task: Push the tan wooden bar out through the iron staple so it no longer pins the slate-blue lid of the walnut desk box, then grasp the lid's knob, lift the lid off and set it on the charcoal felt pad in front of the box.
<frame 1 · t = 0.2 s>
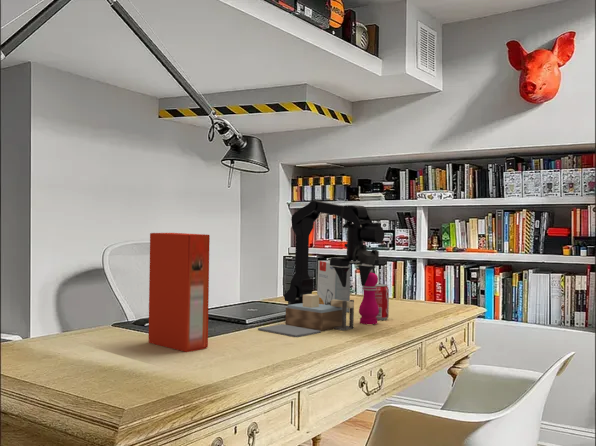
hand: (353, 286, 216), 14 cm above the table, tool pointing down, fingers open, 9 cm apart
file binder: (177, 346, 177), on the table
felt pad: (289, 331, 204), on the table
toolbox: (314, 326, 215), on the table
soda can: (378, 319, 234), on the table
hard drive box: (332, 310, 255), on the table
tan wooden bar: (342, 303, 212), point 8 cm above the table, slide at 0.0 cm
lid: (314, 308, 215), point 6 cm above the table, touching toolbox
pepper mill: (368, 323, 224), on the table
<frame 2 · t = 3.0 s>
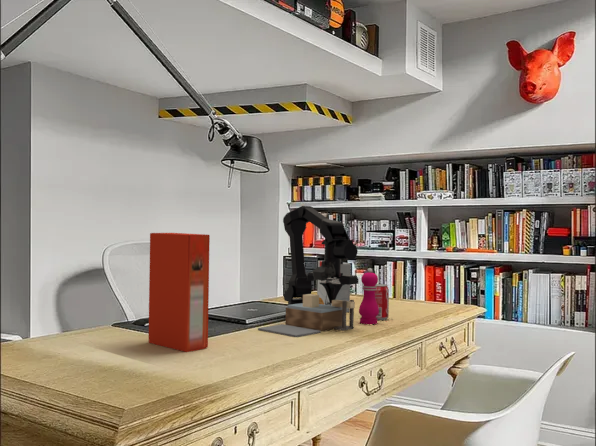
hand: (331, 303, 215), 8 cm above the table, tool pointing down, fingers closed
tan wooden bar: (343, 303, 212), point 8 cm above the table, slide at 0.4 cm, touching gripper
everything else where it was.
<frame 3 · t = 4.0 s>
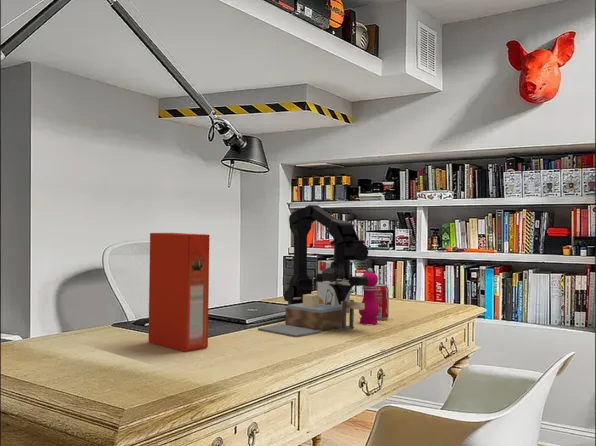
hand: (340, 304, 212), 8 cm above the table, tool pointing down, fingers closed
tan wooden bar: (352, 305, 209), point 8 cm above the table, slide at 4.4 cm, touching gripper
everything else where it was.
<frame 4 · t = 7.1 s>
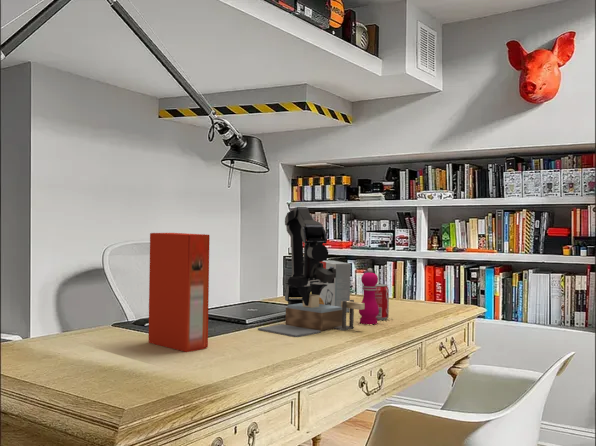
hand: (310, 305, 214), 8 cm above the table, tool pointing down, fingers closed on lid, 4 cm apart
tan wooden bar: (352, 305, 209), point 8 cm above the table, slide at 4.4 cm
lid: (314, 308, 215), point 6 cm above the table, touching gripper, toolbox
everything else where it was.
when the fingers open (4 cm above the table, at t = 10.9 s): lid drops 2 cm, resting on felt pad.
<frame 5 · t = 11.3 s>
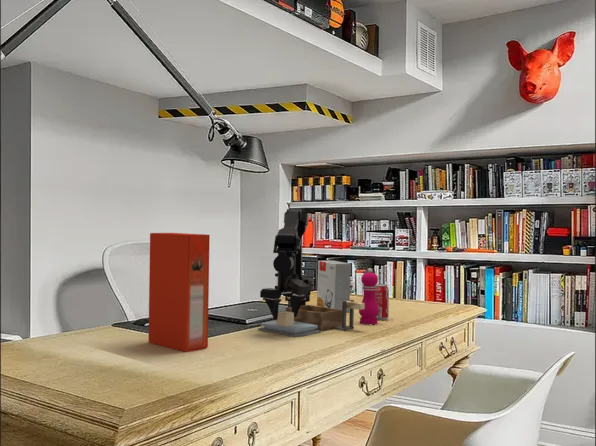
hand: (285, 318, 202), 4 cm above the table, tool pointing down, fingers open, 9 cm apart
lid: (289, 327, 204), point 1 cm above the table, touching felt pad
everything else where it was.
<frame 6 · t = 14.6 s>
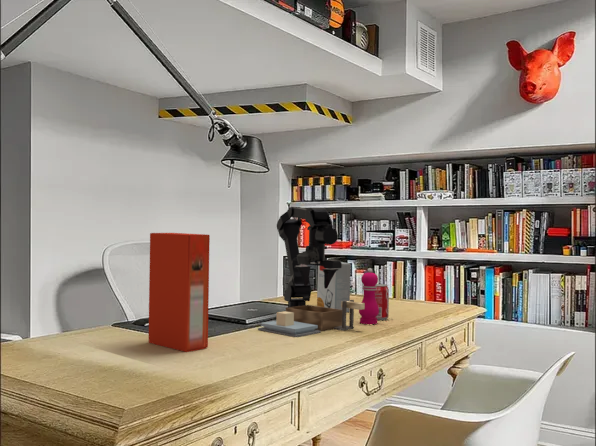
hand: (315, 287, 220), 13 cm above the table, tool pointing down, fingers open, 9 cm apart
nothing on the table moved.
at the end: tan wooden bar slide at 4.4 cm; lid inside the target area (0.1 cm from its centre), point 1.4 cm above the table; lid tilted 0° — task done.
